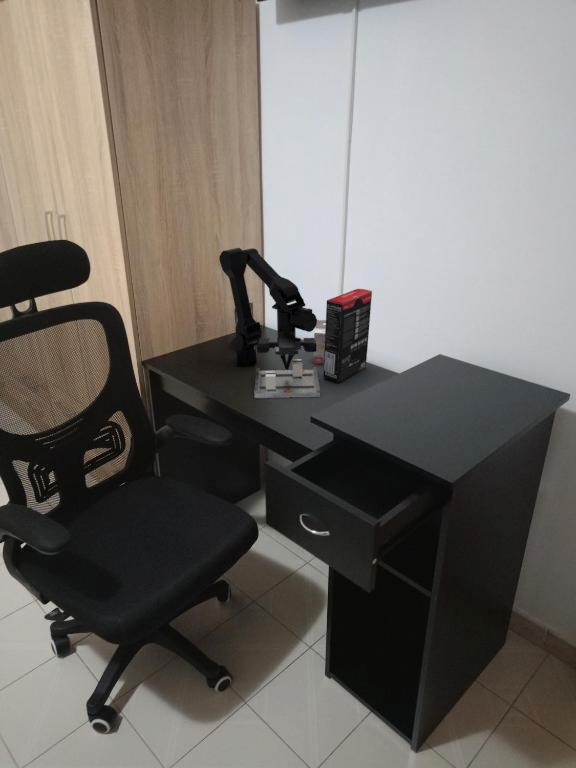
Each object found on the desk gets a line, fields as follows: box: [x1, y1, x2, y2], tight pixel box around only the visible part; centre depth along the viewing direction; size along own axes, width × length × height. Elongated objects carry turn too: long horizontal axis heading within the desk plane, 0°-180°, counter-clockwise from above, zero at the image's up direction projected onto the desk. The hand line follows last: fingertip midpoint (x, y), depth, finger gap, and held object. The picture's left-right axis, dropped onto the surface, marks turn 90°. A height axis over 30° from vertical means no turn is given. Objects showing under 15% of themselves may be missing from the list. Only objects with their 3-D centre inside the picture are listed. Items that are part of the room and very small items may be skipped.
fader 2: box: [292, 358, 303, 377], centre depth 177 cm, size 3×4×5 cm
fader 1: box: [265, 370, 276, 390], centre depth 169 cm, size 3×4×5 cm
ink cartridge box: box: [313, 319, 326, 365], centre depth 189 cm, size 9×5×15 cm, turn 84°
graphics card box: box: [322, 288, 373, 384], centre depth 177 cm, size 17×7×27 cm, turn 141°
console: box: [253, 366, 321, 399], centre depth 175 cm, size 20×17×2 cm
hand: (286, 369), depth 178 cm, fingers closed
